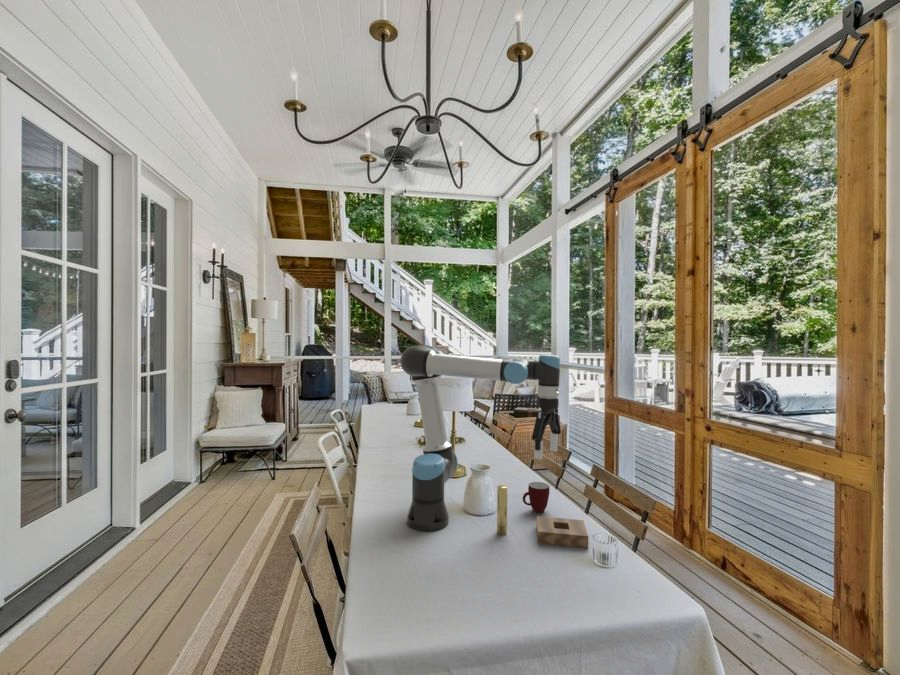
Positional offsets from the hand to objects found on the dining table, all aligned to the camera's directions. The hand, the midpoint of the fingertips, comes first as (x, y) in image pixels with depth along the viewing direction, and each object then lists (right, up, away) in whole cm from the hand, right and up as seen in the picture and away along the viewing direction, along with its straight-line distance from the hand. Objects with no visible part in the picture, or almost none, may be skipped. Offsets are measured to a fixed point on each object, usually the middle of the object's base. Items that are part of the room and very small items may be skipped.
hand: (546, 454), depth 154 cm
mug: (-2, -25, +10) cm, 27 cm away
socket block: (+3, -25, -11) cm, 27 cm away
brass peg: (-17, -25, -9) cm, 31 cm away
